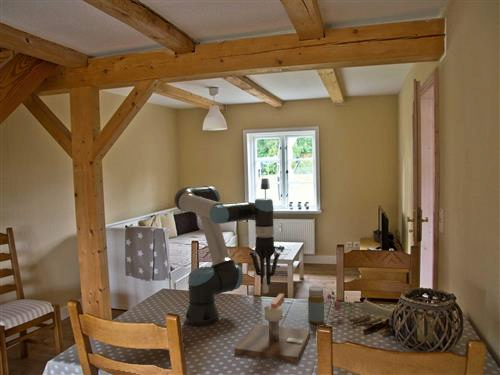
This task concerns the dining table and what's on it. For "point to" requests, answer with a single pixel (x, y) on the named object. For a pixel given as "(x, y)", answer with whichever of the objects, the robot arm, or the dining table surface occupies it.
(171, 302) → the dining table surface
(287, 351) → the post base
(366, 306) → the flower vase
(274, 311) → the lever switch
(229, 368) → the dining table surface
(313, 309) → the bottle
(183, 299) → the dining table surface
